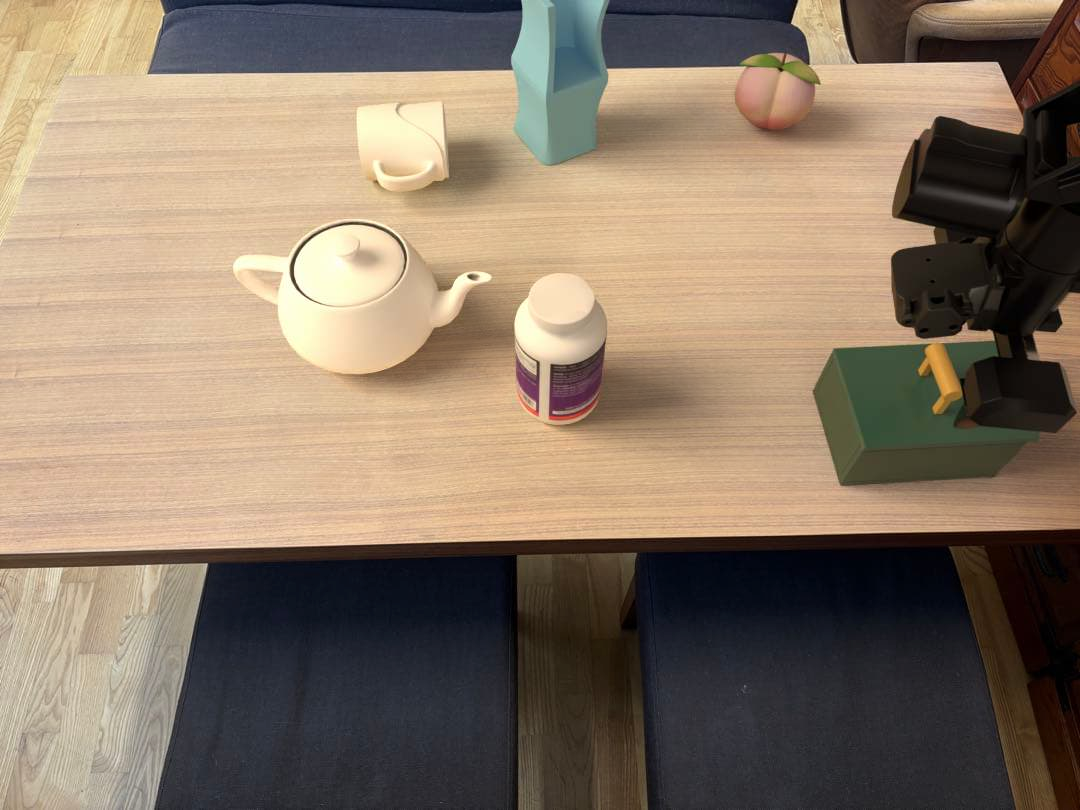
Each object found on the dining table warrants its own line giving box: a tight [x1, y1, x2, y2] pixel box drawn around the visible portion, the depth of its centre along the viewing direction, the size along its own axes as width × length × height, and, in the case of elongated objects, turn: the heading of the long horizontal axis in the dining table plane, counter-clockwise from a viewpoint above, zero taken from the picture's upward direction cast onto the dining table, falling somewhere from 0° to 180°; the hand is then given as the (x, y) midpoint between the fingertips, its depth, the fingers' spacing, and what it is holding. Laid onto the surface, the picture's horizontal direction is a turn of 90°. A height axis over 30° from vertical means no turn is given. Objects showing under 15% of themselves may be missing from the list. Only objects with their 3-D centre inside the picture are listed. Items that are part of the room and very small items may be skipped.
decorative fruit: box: [734, 52, 822, 131], centre depth 100 cm, size 9×8×10 cm
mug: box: [356, 100, 450, 193], centre depth 95 cm, size 12×9×8 cm
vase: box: [510, 0, 611, 166], centre depth 94 cm, size 8×8×20 cm
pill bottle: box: [513, 272, 608, 426], centre depth 76 cm, size 8×8×14 cm
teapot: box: [232, 218, 493, 375], centre depth 81 cm, size 25×16×12 cm, turn 82°
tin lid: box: [831, 340, 1042, 451], centre depth 73 cm, size 15×10×4 cm
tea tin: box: [812, 352, 1028, 486], centre depth 77 cm, size 14×10×6 cm
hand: (950, 378), depth 68 cm, fingers open, 9 cm apart
